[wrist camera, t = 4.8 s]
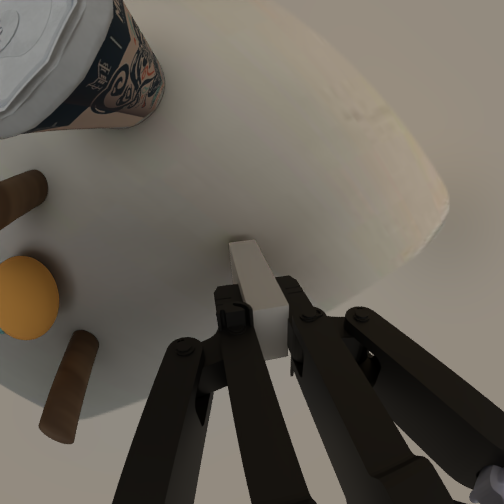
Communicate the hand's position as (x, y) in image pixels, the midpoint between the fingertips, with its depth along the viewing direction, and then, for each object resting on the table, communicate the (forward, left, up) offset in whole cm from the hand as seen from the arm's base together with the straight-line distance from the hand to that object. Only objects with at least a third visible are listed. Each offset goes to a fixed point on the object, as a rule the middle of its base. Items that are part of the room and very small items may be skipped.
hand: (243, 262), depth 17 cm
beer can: (-6, +11, -2) cm, 12 cm away
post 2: (-13, -6, -2) cm, 15 cm away
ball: (-15, 0, +1) cm, 15 cm away
